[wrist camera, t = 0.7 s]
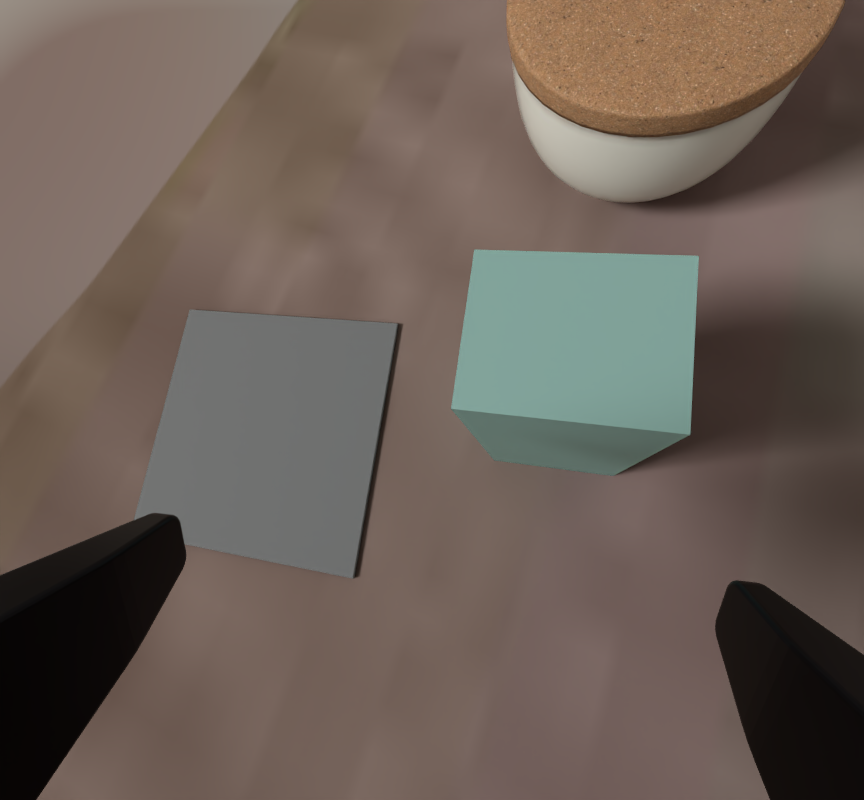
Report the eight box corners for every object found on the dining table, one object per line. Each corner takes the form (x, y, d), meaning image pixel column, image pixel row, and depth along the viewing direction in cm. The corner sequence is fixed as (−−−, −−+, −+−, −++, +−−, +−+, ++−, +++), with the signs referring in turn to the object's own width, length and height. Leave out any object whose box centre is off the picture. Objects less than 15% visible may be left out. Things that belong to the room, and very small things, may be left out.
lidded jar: (475, 192, 25) (439, 11, 16) (585, 29, 26) (610, -229, 17) (676, 283, 22) (772, 120, 13) (795, 94, 22) (964, -184, 14)
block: (613, 475, 20) (690, 434, 10) (494, 460, 22) (451, 408, 11) (620, 383, 21) (698, 255, 11) (505, 373, 22) (474, 249, 12)
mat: (354, 577, 22) (352, 578, 21) (133, 532, 25) (130, 533, 24) (398, 324, 24) (397, 323, 24) (192, 311, 27) (189, 309, 27)
